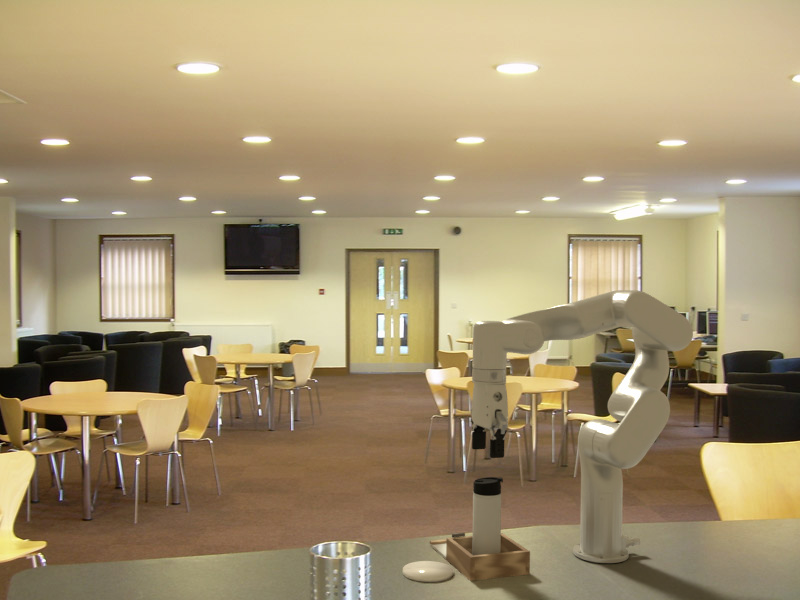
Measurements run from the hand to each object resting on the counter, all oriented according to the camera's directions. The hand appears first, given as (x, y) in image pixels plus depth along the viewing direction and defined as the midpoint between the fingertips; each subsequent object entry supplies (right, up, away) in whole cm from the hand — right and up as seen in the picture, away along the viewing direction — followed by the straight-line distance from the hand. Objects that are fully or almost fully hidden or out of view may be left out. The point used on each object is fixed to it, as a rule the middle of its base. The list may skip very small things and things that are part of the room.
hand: (487, 453), depth 183 cm
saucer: (-13, -25, -4) cm, 29 cm away
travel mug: (0, -26, 0) cm, 26 cm away
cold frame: (-2, -25, +6) cm, 26 cm away
